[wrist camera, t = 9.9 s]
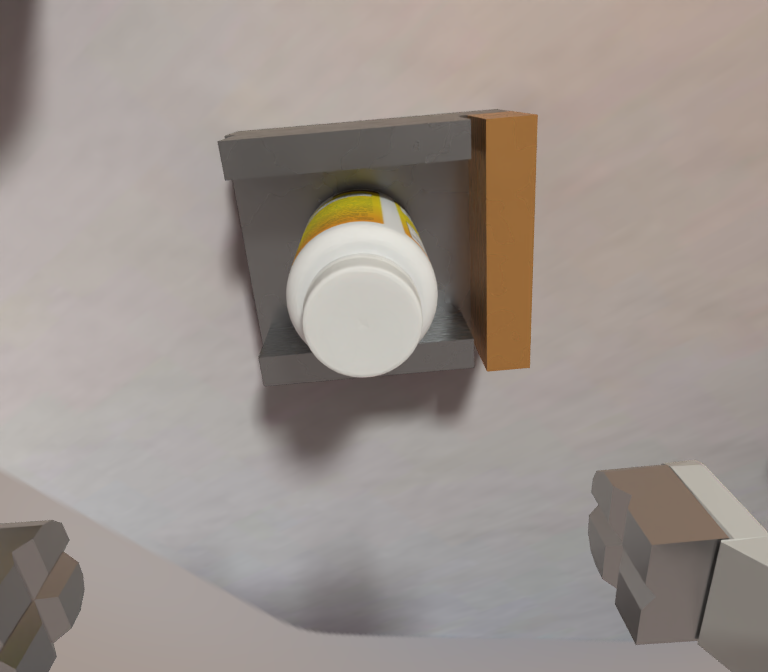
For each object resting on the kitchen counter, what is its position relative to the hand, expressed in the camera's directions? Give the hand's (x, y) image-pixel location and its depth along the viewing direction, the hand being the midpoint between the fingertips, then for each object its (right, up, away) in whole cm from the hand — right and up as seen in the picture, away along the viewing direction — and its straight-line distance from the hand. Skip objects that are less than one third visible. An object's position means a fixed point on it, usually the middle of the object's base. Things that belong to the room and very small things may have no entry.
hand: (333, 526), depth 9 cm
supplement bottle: (0, +8, +19) cm, 20 cm away
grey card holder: (0, +9, +21) cm, 23 cm away
